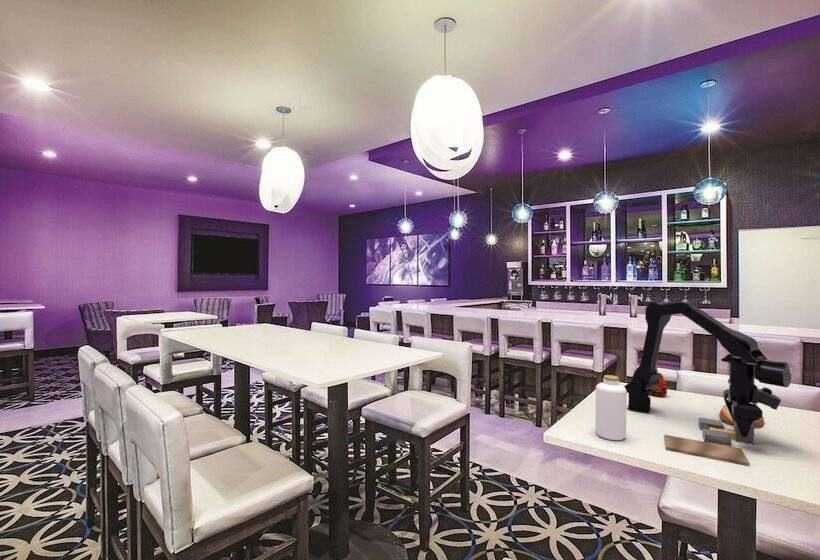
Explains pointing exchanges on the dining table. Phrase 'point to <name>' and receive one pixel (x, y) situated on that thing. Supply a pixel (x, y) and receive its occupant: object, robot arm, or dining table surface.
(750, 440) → the plug
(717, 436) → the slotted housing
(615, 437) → the potion bottle
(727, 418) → the slice of bread
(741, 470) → the dining table surface
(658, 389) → the red clay folk toy
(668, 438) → the walnut board
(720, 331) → the robot arm
